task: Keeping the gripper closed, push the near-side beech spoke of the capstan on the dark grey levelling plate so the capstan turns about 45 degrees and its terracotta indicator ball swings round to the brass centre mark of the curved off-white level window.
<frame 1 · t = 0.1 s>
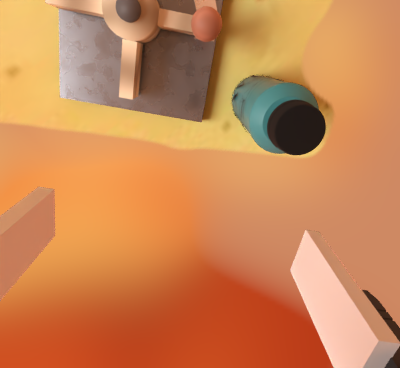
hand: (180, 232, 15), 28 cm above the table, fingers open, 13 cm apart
beverage bottle: (252, 99, 40), on the table
stand: (141, 19, 35), on the table
capstan: (135, 12, 31), point 5 cm above the table, hinge at 0.0°
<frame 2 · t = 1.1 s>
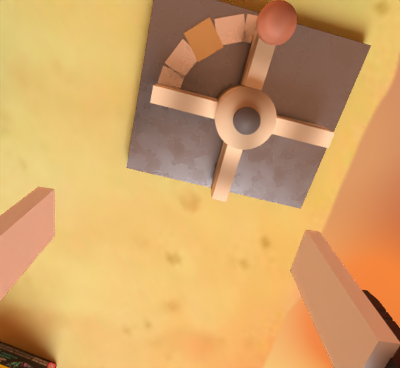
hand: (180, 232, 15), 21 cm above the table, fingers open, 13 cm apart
tampon box: (19, 366, 50), on the table
stand: (237, 109, 33), on the table
capstan: (244, 114, 28), point 5 cm above the table, hinge at 0.0°
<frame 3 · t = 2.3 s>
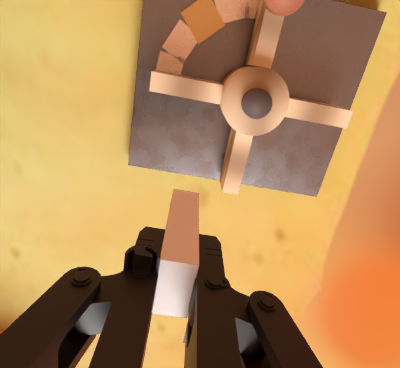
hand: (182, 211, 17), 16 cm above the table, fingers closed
stand: (243, 94, 30), on the table
capstan: (252, 97, 25), point 5 cm above the table, hinge at 0.0°
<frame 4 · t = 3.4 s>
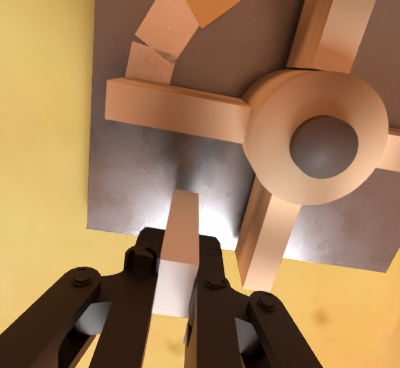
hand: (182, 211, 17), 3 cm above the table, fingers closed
stand: (275, 115, 18), on the table
capstan: (306, 128, 13), point 5 cm above the table, hinge at 0.0°
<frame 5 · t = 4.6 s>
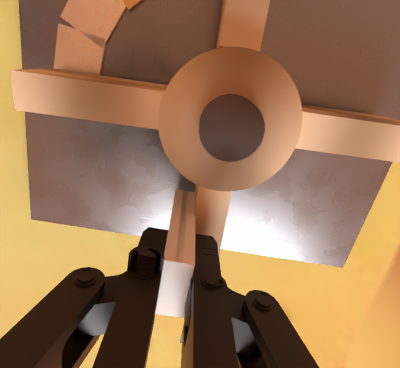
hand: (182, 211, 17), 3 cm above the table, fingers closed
stand: (219, 103, 18), on the table
capstan: (227, 111, 13), point 5 cm above the table, hinge at 2.6°, touching gripper
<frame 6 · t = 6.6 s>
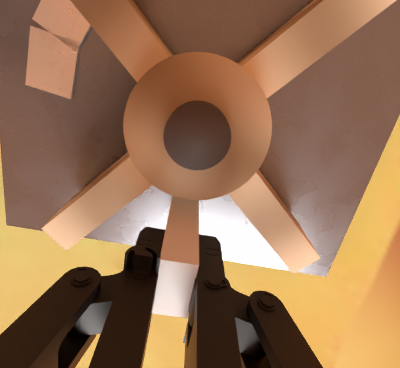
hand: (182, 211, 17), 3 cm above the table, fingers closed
stand: (198, 108, 17), on the table
capstan: (193, 119, 12), point 5 cm above the table, hinge at 48.9°
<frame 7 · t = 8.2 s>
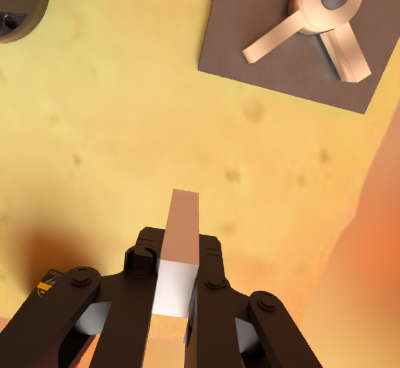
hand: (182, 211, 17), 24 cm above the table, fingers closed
tampon box: (70, 297, 50), on the table
stand: (307, 10, 33), on the table
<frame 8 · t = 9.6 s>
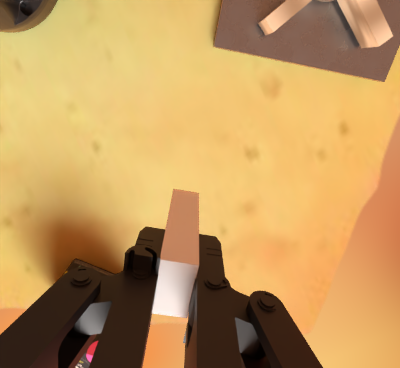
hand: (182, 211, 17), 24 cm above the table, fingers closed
tampon box: (95, 286, 51), on the table
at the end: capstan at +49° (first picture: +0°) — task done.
